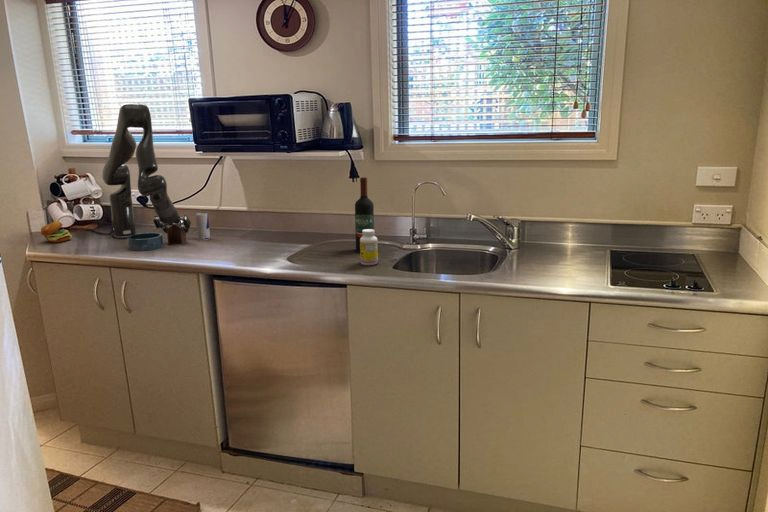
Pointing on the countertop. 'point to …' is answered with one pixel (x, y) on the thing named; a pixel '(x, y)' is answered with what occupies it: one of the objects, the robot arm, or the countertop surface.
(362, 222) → the wine bottle
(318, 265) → the countertop surface
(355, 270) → the countertop surface
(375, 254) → the supplement bottle
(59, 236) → the cheeseburger
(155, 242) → the bowl
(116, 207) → the robot arm
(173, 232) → the brown block
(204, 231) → the energy drink
